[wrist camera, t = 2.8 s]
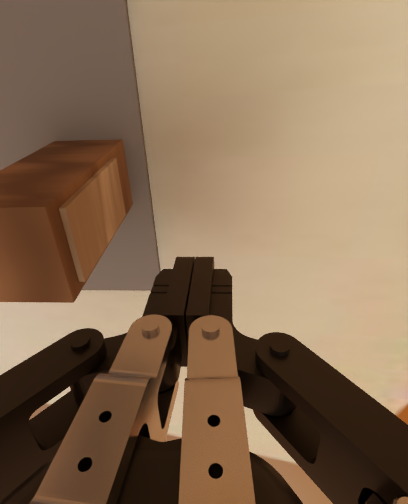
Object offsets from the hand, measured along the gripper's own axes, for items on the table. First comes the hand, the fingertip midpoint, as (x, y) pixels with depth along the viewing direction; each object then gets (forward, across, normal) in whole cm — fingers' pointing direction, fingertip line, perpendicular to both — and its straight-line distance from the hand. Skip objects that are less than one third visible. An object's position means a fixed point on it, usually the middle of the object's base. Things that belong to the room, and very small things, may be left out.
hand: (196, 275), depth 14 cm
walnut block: (+13, +9, 0) cm, 16 cm away
